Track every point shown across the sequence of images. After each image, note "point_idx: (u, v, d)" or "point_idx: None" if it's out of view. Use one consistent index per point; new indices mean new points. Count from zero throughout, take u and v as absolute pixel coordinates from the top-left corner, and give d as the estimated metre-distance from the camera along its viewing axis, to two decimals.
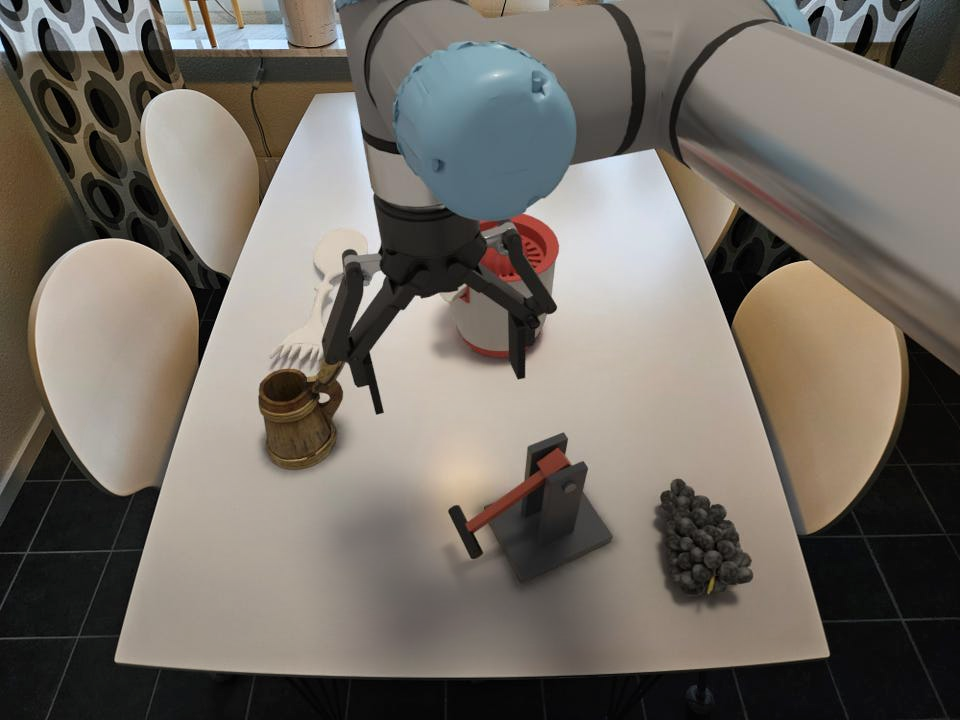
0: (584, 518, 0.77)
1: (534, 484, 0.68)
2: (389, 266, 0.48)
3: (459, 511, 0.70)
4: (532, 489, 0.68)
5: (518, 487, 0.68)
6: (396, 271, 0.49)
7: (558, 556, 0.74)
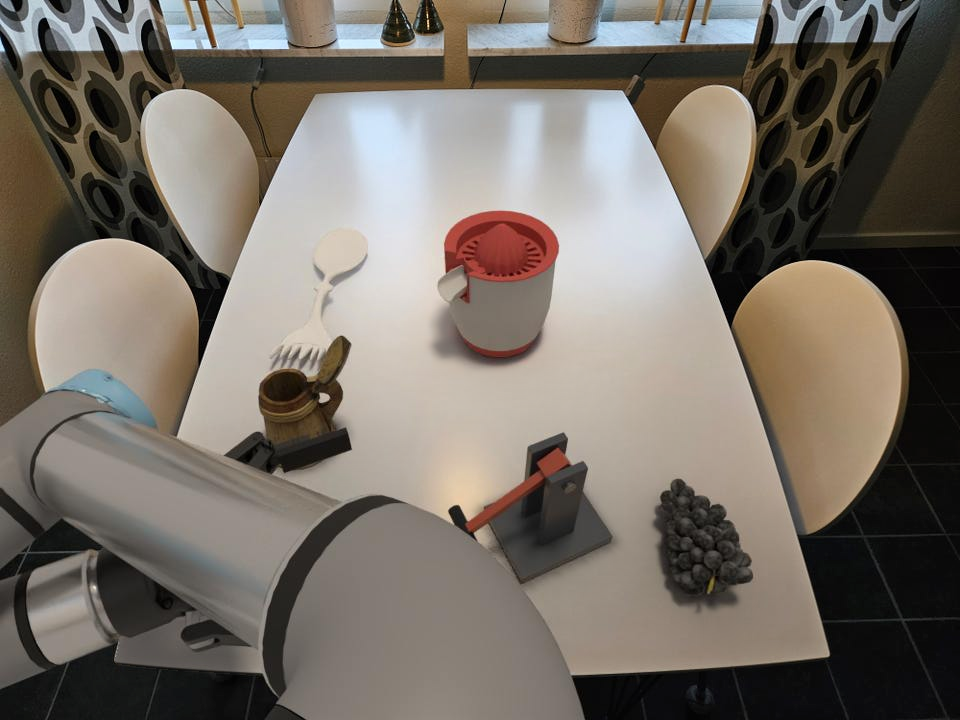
0: (584, 518, 0.77)
1: (534, 484, 0.68)
2: None
3: (459, 511, 0.70)
4: (532, 489, 0.68)
5: (518, 487, 0.68)
6: None
7: (558, 556, 0.74)
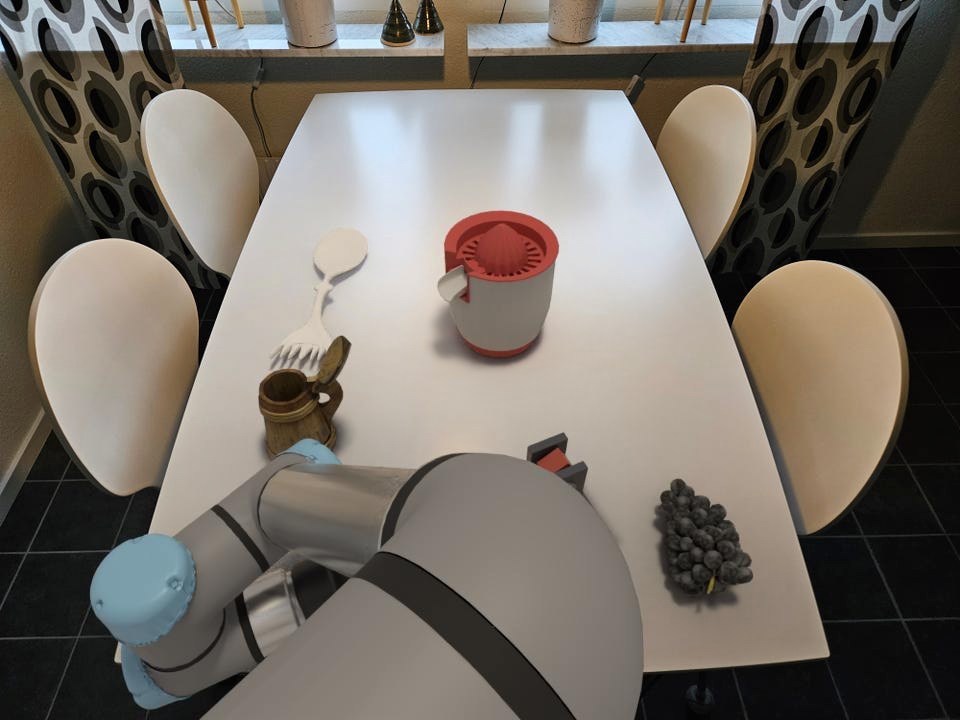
0: None
1: None
2: None
3: None
4: None
5: None
6: None
7: None
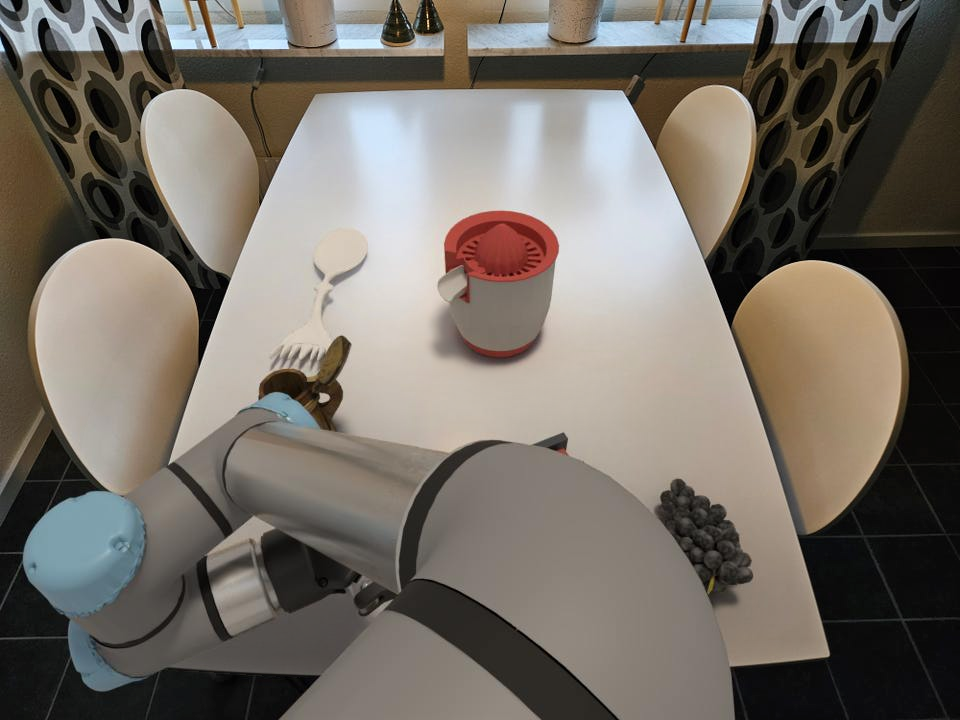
0: None
1: None
2: (339, 579, 0.57)
3: None
4: None
5: None
6: (344, 572, 0.57)
7: None
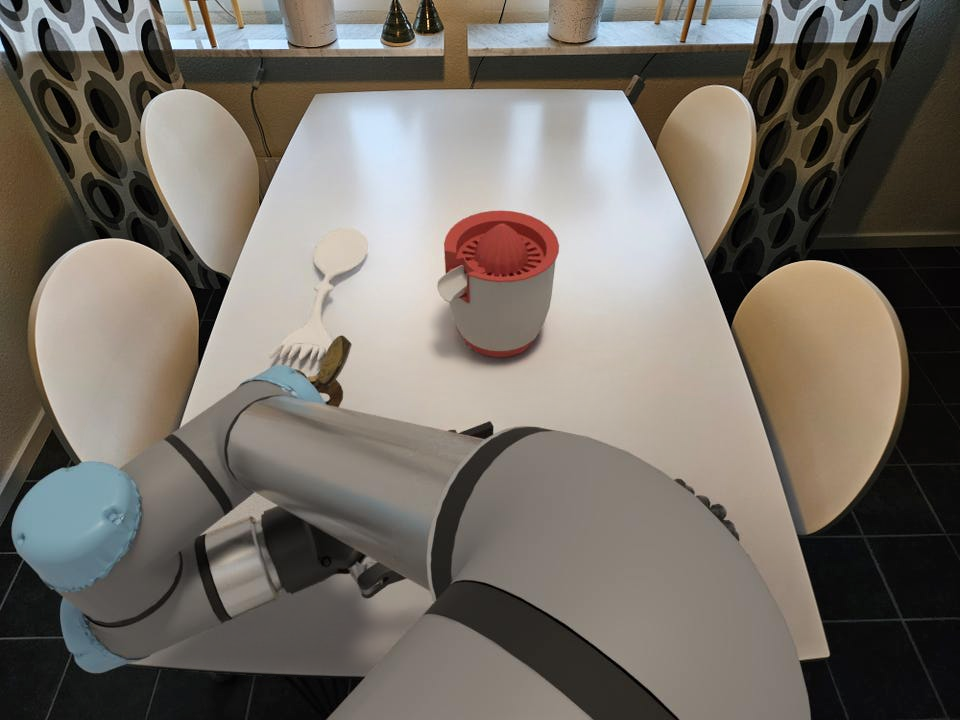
0: None
1: None
2: (343, 558, 0.54)
3: None
4: None
5: None
6: (348, 551, 0.55)
7: None
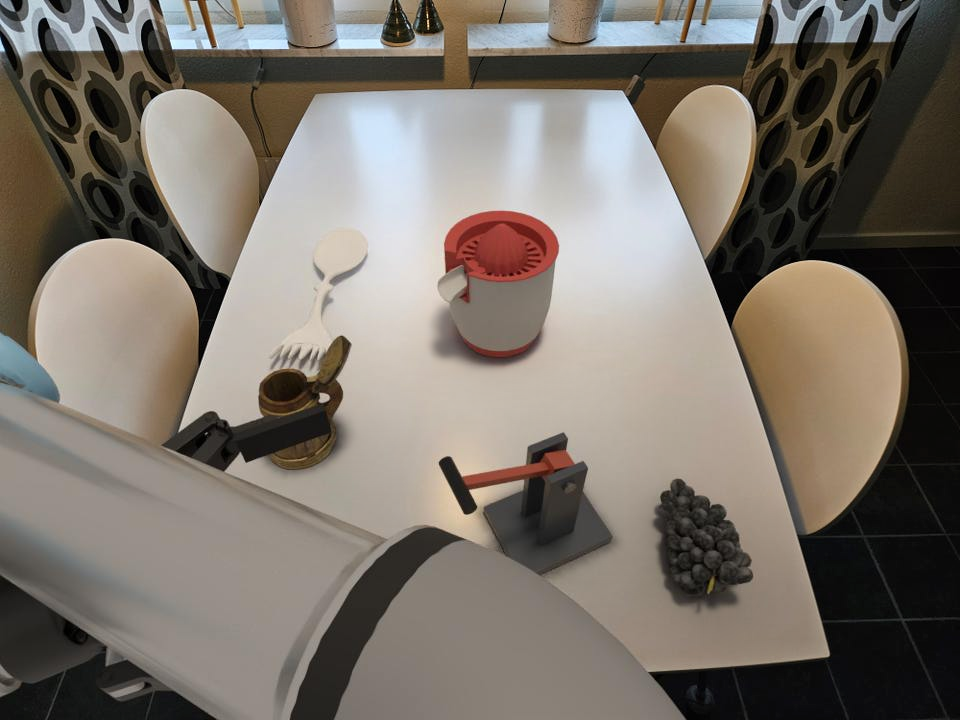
0: (584, 518, 0.77)
1: (537, 470, 0.66)
2: None
3: (454, 464, 0.63)
4: (532, 475, 0.66)
5: (521, 467, 0.65)
6: None
7: (558, 556, 0.74)
